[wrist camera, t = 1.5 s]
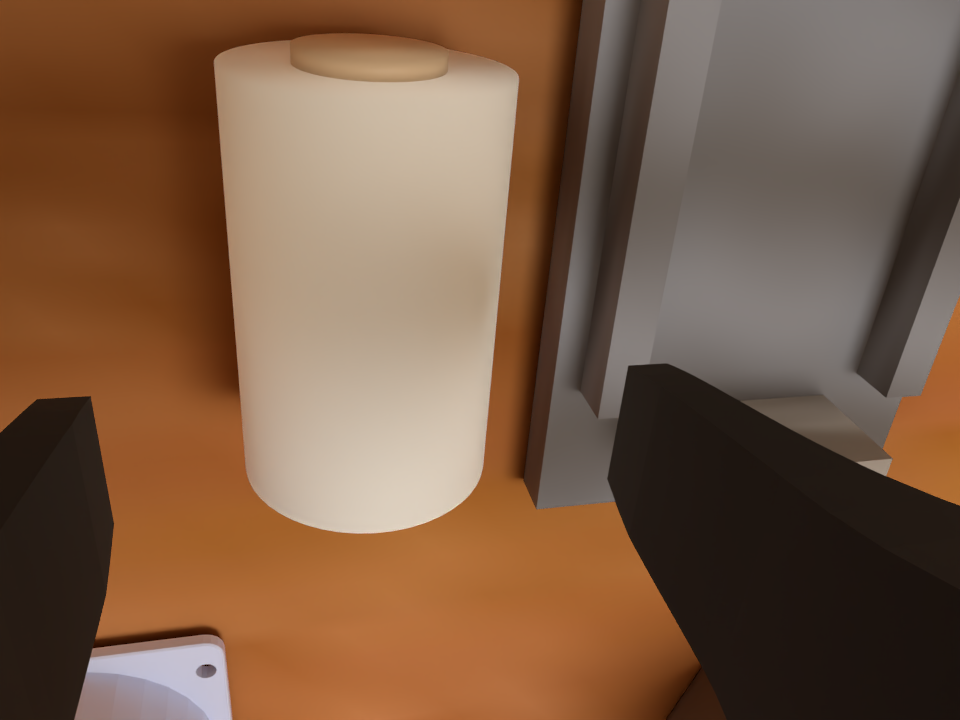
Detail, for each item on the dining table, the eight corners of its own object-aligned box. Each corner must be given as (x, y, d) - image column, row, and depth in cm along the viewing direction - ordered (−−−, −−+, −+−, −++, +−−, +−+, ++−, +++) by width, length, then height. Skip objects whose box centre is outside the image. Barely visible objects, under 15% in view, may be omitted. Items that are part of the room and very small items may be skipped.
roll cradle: (846, 451, 25) (940, 542, 22) (523, 480, 22) (571, 588, 19) (1074, -193, 17) (1277, -207, 14) (614, -252, 15) (722, -288, 11)
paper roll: (429, 388, 21) (522, 510, 17) (225, 425, 19) (278, 572, 15) (448, 23, 17) (577, 75, 13) (188, 20, 15) (249, 82, 11)
